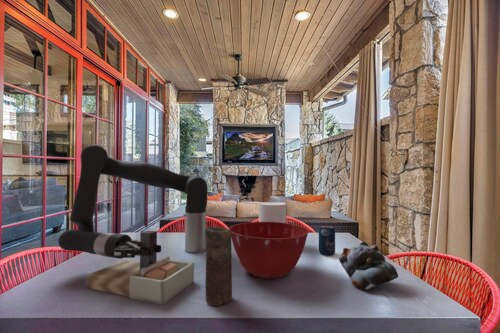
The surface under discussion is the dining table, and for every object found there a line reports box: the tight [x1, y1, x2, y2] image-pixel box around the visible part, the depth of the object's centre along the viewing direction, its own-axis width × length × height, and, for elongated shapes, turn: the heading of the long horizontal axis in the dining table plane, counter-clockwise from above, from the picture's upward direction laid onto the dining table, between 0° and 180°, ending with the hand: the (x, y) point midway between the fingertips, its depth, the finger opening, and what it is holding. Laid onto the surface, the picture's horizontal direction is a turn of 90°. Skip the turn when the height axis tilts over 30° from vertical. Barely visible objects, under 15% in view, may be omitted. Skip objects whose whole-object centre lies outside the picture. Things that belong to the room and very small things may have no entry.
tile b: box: [145, 268, 165, 281], centre depth 77 cm, size 5×5×3 cm
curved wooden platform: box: [86, 259, 141, 297], centre depth 84 cm, size 17×14×4 cm
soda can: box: [318, 224, 336, 257], centre depth 113 cm, size 7×7×12 cm
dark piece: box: [139, 229, 171, 278], centre depth 81 cm, size 5×12×12 cm, turn 161°
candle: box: [205, 226, 233, 306], centre depth 73 cm, size 8×7×20 cm
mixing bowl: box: [228, 221, 310, 279], centre depth 94 cm, size 28×28×15 cm
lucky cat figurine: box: [338, 241, 399, 292], centre depth 85 cm, size 15×12×14 cm
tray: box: [128, 259, 195, 305], centre depth 79 cm, size 11×16×6 cm
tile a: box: [159, 262, 177, 279], centre depth 82 cm, size 5×5×3 cm
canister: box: [258, 201, 287, 223], centre depth 129 cm, size 14×14×20 cm
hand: (156, 250), depth 80 cm, fingers closed on dark piece, 3 cm apart
